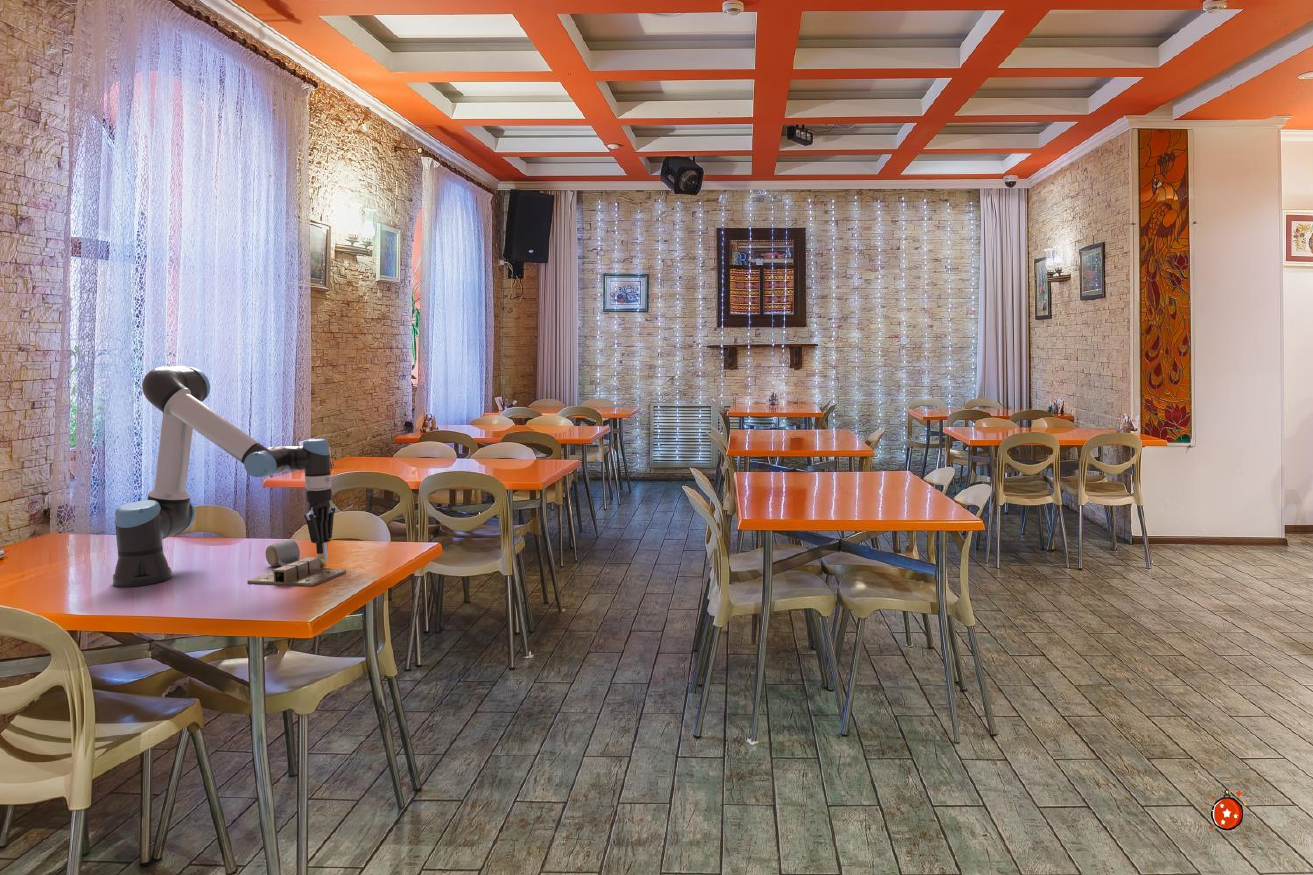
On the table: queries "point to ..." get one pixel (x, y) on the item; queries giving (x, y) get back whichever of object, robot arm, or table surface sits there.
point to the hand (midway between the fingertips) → (322, 563)
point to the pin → (322, 562)
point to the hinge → (298, 574)
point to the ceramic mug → (283, 553)
